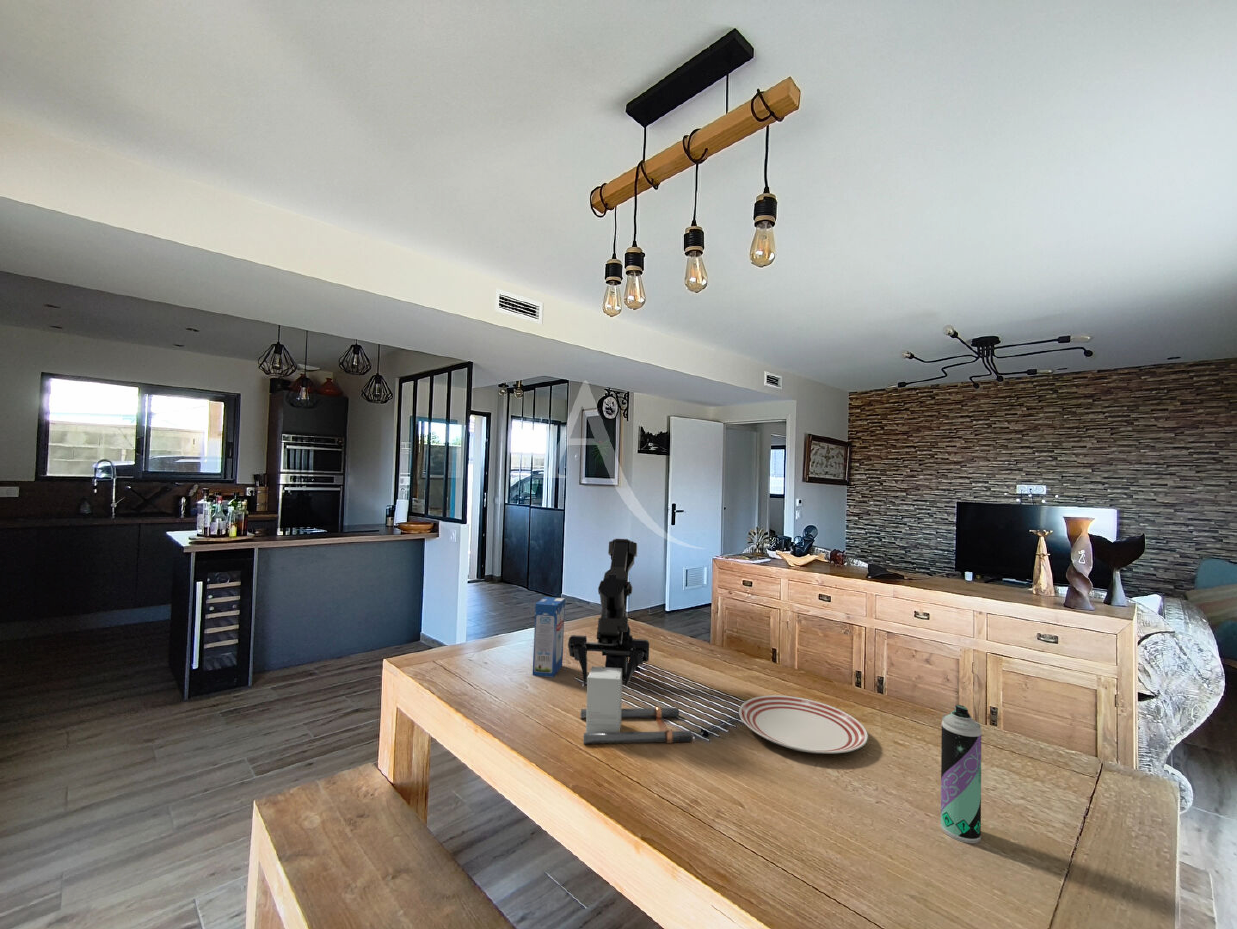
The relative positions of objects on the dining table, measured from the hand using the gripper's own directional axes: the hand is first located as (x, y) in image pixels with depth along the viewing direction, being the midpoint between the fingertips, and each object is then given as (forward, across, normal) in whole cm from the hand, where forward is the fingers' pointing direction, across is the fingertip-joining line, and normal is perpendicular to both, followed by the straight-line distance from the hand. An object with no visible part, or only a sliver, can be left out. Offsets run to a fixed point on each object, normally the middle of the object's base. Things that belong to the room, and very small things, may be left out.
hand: (605, 683), depth 118 cm
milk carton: (-18, -20, +32) cm, 42 cm away
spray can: (+26, +61, -11) cm, 67 cm away
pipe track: (+6, +7, +8) cm, 12 cm away
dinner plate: (+3, +44, +12) cm, 46 cm away
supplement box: (+7, 0, +8) cm, 10 cm away
